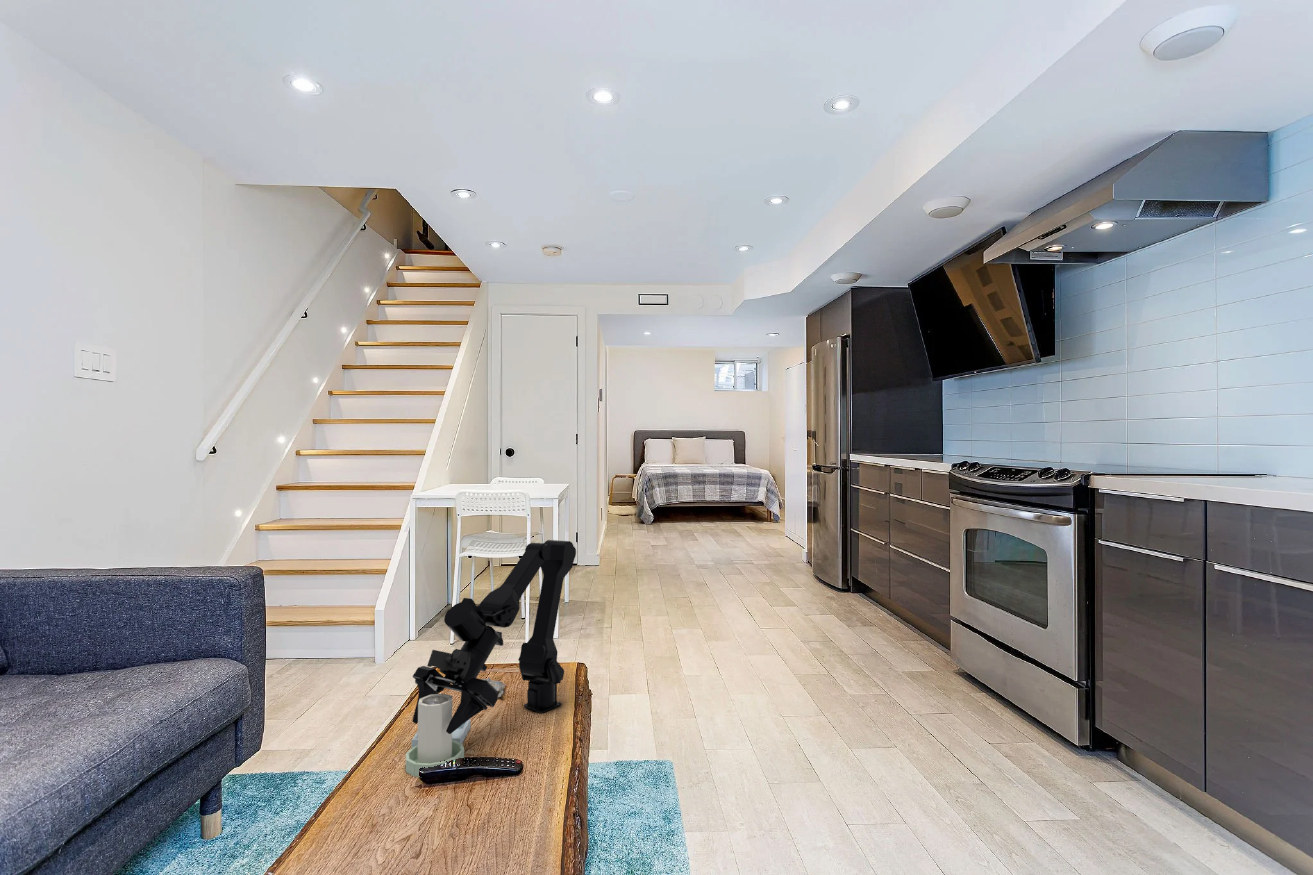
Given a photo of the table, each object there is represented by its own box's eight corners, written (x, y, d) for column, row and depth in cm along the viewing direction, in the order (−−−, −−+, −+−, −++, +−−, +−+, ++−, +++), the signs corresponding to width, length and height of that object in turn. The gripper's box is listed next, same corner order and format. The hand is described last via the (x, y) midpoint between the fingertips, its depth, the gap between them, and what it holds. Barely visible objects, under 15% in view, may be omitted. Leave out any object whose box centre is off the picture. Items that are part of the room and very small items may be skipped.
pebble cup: (436, 753, 127) (437, 689, 127) (458, 760, 124) (459, 695, 124) (410, 766, 122) (411, 699, 122) (433, 774, 119) (434, 705, 119)
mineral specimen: (507, 702, 156) (507, 684, 157) (471, 706, 154) (471, 688, 154) (503, 682, 171) (503, 666, 171) (470, 685, 168) (470, 669, 168)
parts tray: (424, 732, 139) (425, 720, 139) (470, 730, 139) (470, 719, 139) (411, 752, 129) (411, 739, 129) (460, 751, 130) (460, 738, 130)
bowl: (442, 750, 130) (442, 735, 130) (474, 765, 124) (474, 749, 124) (394, 769, 122) (394, 753, 122) (426, 787, 116) (426, 770, 116)
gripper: (420, 625, 132) (372, 698, 122) (488, 638, 123) (442, 717, 113) (450, 654, 138) (406, 725, 129) (516, 668, 129) (475, 745, 119)
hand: (430, 727), depth 122 cm, fingers open, 9 cm apart
